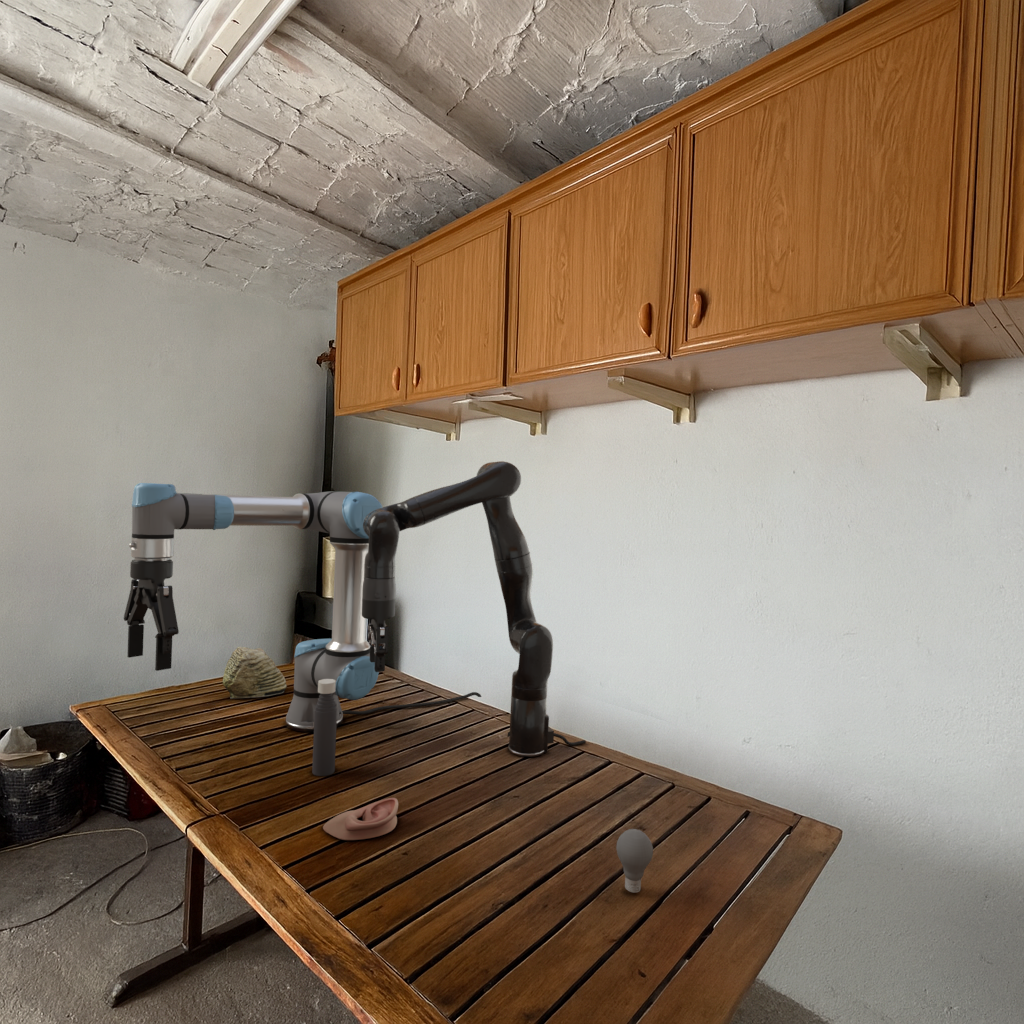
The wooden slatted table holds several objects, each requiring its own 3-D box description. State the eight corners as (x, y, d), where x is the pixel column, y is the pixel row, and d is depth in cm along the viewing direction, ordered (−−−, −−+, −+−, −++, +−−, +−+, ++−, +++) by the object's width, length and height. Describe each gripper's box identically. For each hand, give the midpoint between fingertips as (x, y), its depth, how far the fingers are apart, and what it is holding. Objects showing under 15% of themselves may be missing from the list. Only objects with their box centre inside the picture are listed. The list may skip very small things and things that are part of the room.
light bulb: (610, 879, 108) (613, 822, 108) (644, 879, 109) (647, 822, 109) (619, 902, 102) (622, 840, 102) (655, 901, 103) (658, 840, 103)
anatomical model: (315, 814, 118) (343, 787, 129) (314, 835, 118) (343, 807, 129) (382, 825, 115) (405, 796, 127) (381, 846, 116) (404, 816, 127)
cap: (326, 695, 143) (326, 684, 143) (314, 691, 145) (314, 681, 145) (338, 690, 146) (339, 680, 146) (326, 687, 148) (327, 677, 148)
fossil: (218, 695, 195) (220, 647, 195) (278, 685, 208) (279, 640, 207) (228, 703, 189) (230, 653, 188) (289, 692, 201) (290, 645, 201)
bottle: (323, 778, 143) (326, 687, 142) (307, 772, 145) (310, 683, 145) (339, 770, 147) (342, 682, 146) (323, 765, 149) (327, 678, 149)
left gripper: (108, 554, 134) (104, 654, 134) (159, 565, 118) (155, 678, 119) (146, 552, 140) (143, 648, 140) (199, 563, 124) (195, 671, 124)
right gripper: (400, 601, 140) (398, 673, 141) (390, 591, 154) (388, 657, 154) (366, 602, 138) (363, 676, 138) (358, 592, 151) (356, 659, 152)
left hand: (148, 662), depth 129 cm, fingers open, 13 cm apart
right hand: (376, 666), depth 146 cm, fingers open, 8 cm apart
